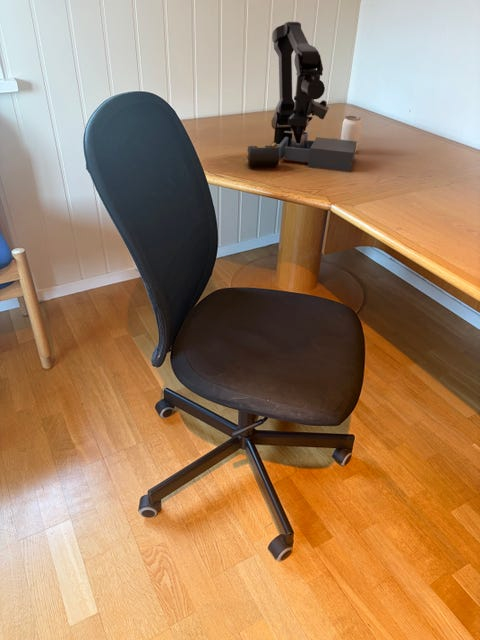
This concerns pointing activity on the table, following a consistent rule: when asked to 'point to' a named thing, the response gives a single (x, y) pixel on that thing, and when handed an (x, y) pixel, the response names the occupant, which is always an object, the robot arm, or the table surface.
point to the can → (351, 129)
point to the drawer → (293, 151)
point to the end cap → (263, 157)
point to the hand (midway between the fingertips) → (299, 141)
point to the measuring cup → (302, 143)
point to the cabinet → (332, 154)
